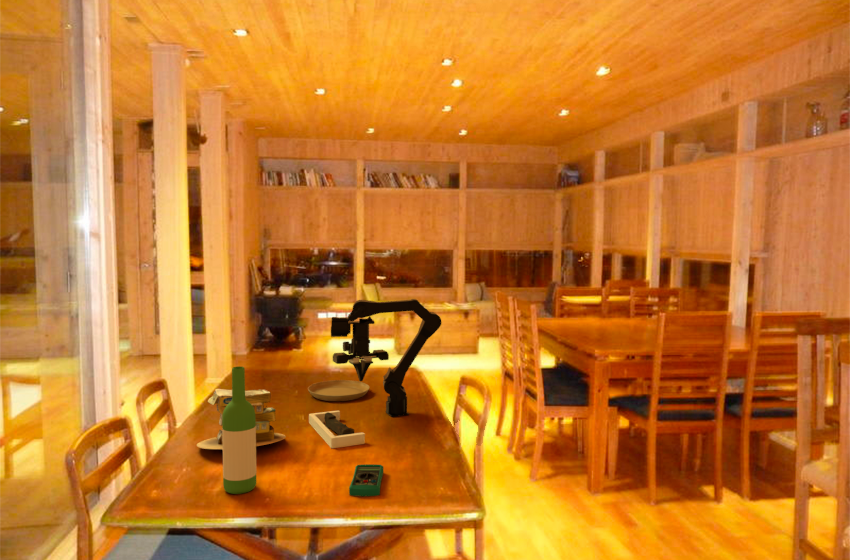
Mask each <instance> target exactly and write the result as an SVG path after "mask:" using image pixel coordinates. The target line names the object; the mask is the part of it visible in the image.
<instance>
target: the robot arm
mask: <svg viewBox="0 0 850 560" xmlns="http://www.w3.org/2000/svg"><path fill="white" fill-rule="evenodd" d="M400 312H414V313H415V314H416V315H417V316H418V317H420V319H421V322H420V324H419V328H418V330H417V334H416V335H415V337H414V338H413V339H412V341H411V343H410V344H409V346H408V348H407V349H406V350H405V352H404V354H403V355H402V356H401V358H400V360H399V362H398V363H397V365H395V367H393V369H392V368H391V367H390V366H389V368H388V369H387V372H386V373H385V374H384V375H383V377H382V378H383V381H382V385H383V390H384V391H385V394H388V395H387V398H386V399H387V400H386V402H385V413H386V414H387V415H389V416H390V417H392V418H394V417H402V416H409V415H410V413H409V412H408V396H407V391H406V388H405V387H404V386H403V383H404V380H405V376H406V374H407V372H408V371H409V369H410V368H411V366H412V364H413V363H414V362H415V359H416V358H417V357H418V355H419V353H420V351H421V350H422V349H423V347H424V346H425V344H426V342H427V341H428V339H429V338H430V337H432V336H433V335H434V334H436V332H437V331H438V330H439V329H440V327H441V326H442V323H443V322H442V319H441V317H440V315H439V314H437V313H436V312H434V311H429V310H428V309H427V308H426V307H425V306H424V305H422V304H421V303H420V301H419V300H418V299H416V298H411V299H404V300H391V301H389V300H386V301H375V300H374V301H373V300H369V299H357V300H356V301H355V302H354V303H353V304H352V311H351V312H350V313H349V314H348V315H347V317H345V316H344V317H339V316H332V317H331V324H330V325H331V326H330V337H331V338H335V337H336V338H342V337H343V338H345V337H346V338H347V337H348V336H349V335H351V326H352V338H351V340H350V341H351V342H350V341H343V342H342V351H343V352H335V353H333V355H332V362H334V363H335V364H337V365H341V364H347V363H349V364H351V365H352V366H353V367H354V370H355V372H356V375H357V378H358V382H363V380H364V378H365V376H366V374H367V372H368V370H369V368H370V366H371V365H372V364H374V361H373V359H378V360H379V361H388V360H389V359H390V357H389V352H388V351H387V350H384V349H374V350H373V351H372V352H370V344H371V339H370V325H374V324H375V320H374V319H373V318H372V316H374V315H377V314H385V313H400ZM345 352H347V353H348V354H347V353H345Z"/></svg>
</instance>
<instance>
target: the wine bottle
mask: <svg viewBox="0 0 850 560" xmlns="http://www.w3.org/2000/svg"><path fill="white" fill-rule="evenodd" d="M245 373H246V372H245V367H244V366H240V365H239V366H233V367H231V390H232V401H231V402H230V403H229V404H228V405H227V406H226V407H225V409H224V411H223V415H222V426H221V429H222V437H223V449H222V478H223V480H222V483H223V489H224V491H225V492H226V493H228V494H231V495H233V494H234V495H240V494H241V495H242V494H246V493H249V492H250V491H252V490H254V489H255V488H256V485H257V446H256V421H255V410H254V408H253V406H252V405H251V403H249V402H248V401H247V400H246V399H245V391H246V378H245V376H246V375H245Z"/></svg>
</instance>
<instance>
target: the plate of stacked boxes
mask: <svg viewBox="0 0 850 560" xmlns="http://www.w3.org/2000/svg"><path fill="white" fill-rule="evenodd" d="M271 395H272V394H271V392H270V391H268V390H266V389H265V388H264V389H260V388H259V389H249V390H245V399H246V400H247V401H248V402H249V403H251V405H252V406H253V408H254V410H255V421H256V447H259V446H264V445H269V444H270V445H271V444H273V443H278V442H281V441H282V440H285V439H286V435H285V434H282V433H279V432H275V428H274V426H272V425H270V424H271V423H270V422H275V421H276V408H274V407H268V405H266V407H264V406H265V405H264V404H267V403H271V398H272V396H271ZM231 401H232V389H225V388H215V390H214V392H213V393H212V396H211V397H209V399H208V400H207V403H208V404H210V405H212V406H214V405H216V412H218V413H220V414H219V422H218V424H219V425H220V426H221V427H222V415H223V411H224V409H225V407H226V406H227V405H228V404H229V403H230V402H231ZM216 436H217V437H216ZM216 436H215V437H211V438H208V439H205V440H201V441H200V442H198V443H197V444H196V447H198V448H200V449H203V450H204V449H205V450H223V437H222V430H221V429H219V430H218V433H217V435H216Z"/></svg>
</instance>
